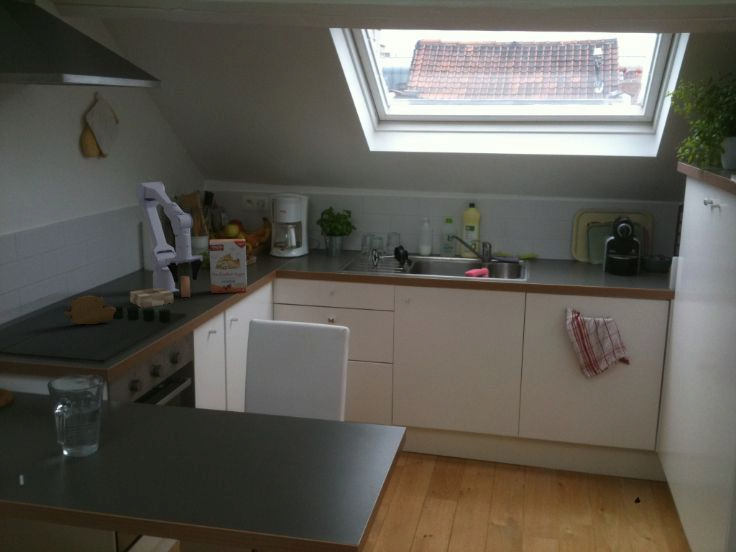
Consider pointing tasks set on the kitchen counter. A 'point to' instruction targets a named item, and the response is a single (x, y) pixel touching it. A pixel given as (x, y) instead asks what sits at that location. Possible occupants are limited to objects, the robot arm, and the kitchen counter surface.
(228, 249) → the cracker box
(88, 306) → the wooden carving
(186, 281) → the peg
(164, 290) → the socket block
